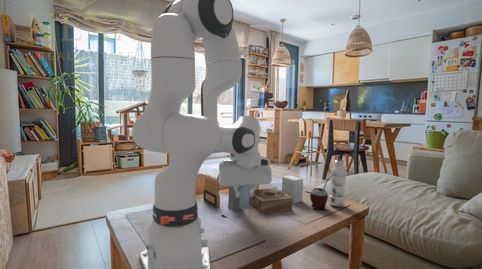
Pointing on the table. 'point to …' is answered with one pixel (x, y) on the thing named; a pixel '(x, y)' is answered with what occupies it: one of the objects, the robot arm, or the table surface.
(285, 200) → the socket block
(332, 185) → the plastic bottle
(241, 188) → the blue-gray rectangular block
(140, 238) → the table surface
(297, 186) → the small box
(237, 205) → the square peg
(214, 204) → the ammunition clip
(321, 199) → the mate gourd
